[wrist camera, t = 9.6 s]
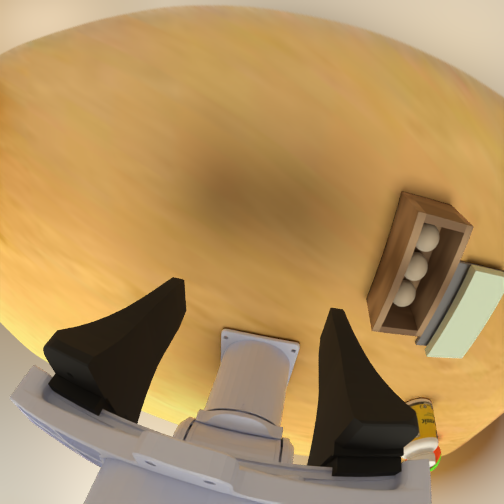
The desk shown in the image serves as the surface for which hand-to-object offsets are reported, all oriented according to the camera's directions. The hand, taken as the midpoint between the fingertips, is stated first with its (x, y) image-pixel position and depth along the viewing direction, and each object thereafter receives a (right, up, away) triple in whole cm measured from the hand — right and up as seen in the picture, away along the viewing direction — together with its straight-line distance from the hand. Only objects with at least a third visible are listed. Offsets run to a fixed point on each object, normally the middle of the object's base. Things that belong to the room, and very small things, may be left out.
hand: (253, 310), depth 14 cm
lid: (+20, -3, +8) cm, 22 cm away
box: (+13, +3, +7) cm, 15 cm away
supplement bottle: (+22, -19, +18) cm, 34 cm away
